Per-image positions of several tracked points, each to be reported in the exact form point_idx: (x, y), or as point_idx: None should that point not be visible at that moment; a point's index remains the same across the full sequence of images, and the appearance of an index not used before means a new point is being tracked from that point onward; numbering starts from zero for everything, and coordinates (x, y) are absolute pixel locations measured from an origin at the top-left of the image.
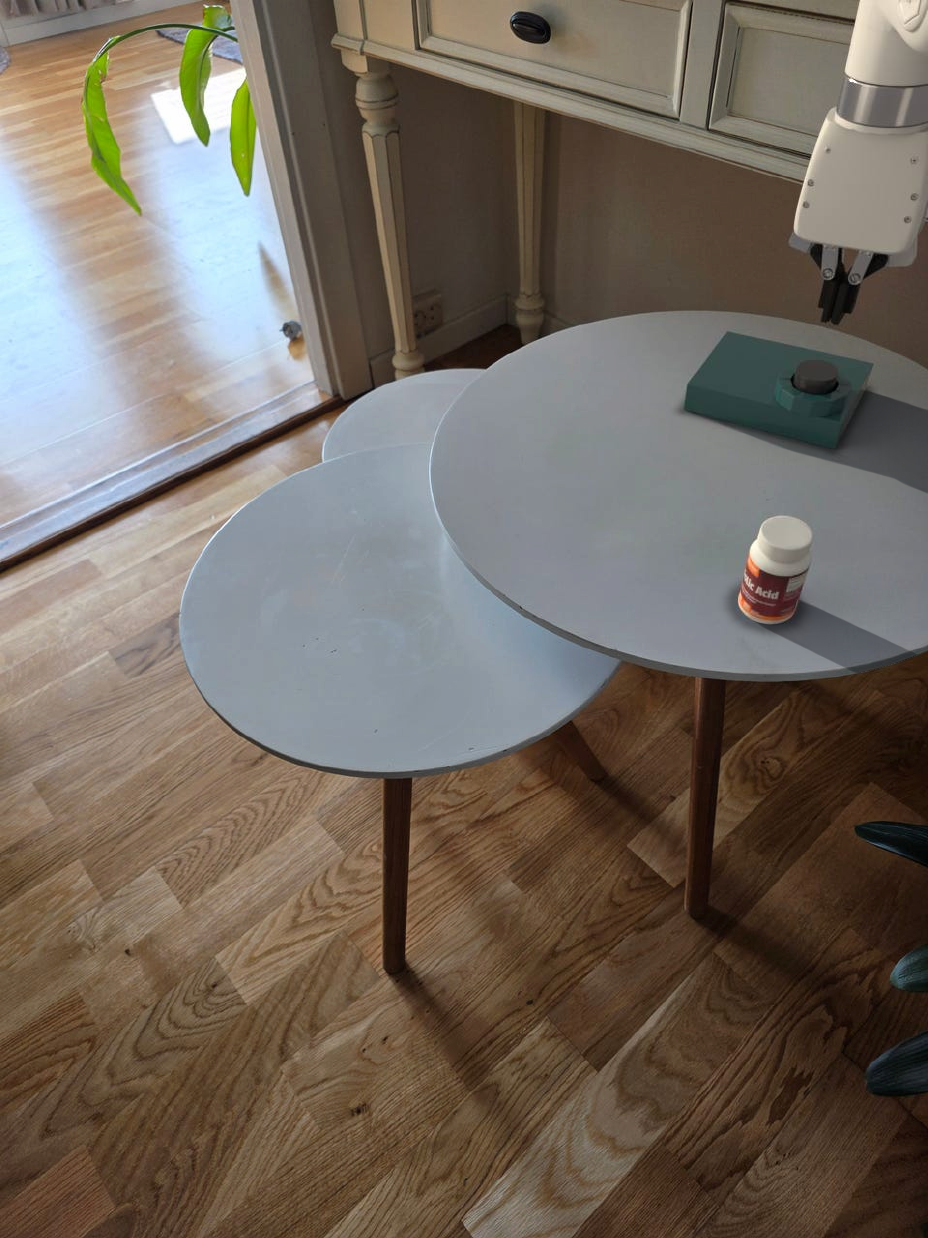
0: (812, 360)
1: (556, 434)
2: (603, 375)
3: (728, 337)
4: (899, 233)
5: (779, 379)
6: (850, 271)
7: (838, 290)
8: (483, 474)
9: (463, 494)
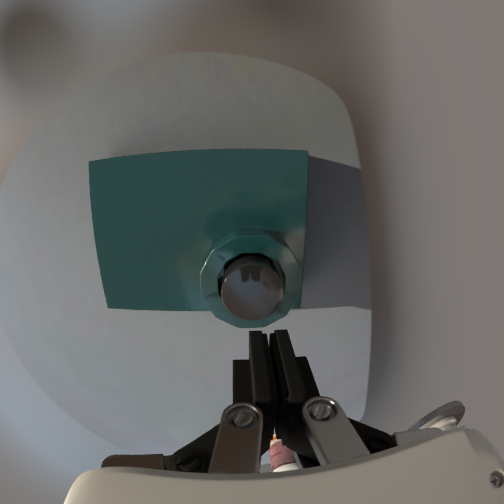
0: (237, 272)
1: (68, 360)
2: (35, 266)
3: (95, 177)
4: None
5: (205, 299)
6: (297, 463)
7: (275, 432)
8: (73, 404)
9: (81, 419)
